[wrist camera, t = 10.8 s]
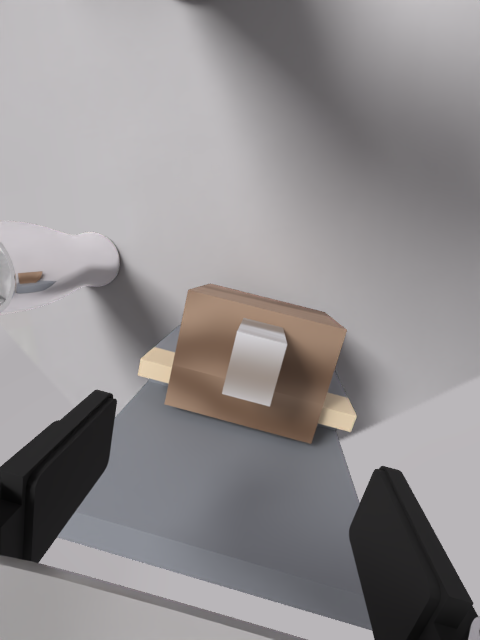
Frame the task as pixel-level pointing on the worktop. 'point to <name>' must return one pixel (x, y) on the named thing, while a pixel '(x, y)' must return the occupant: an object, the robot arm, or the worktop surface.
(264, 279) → the worktop surface
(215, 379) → the walnut cabinet
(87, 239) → the beer glass
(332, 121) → the worktop surface
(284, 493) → the wall board
